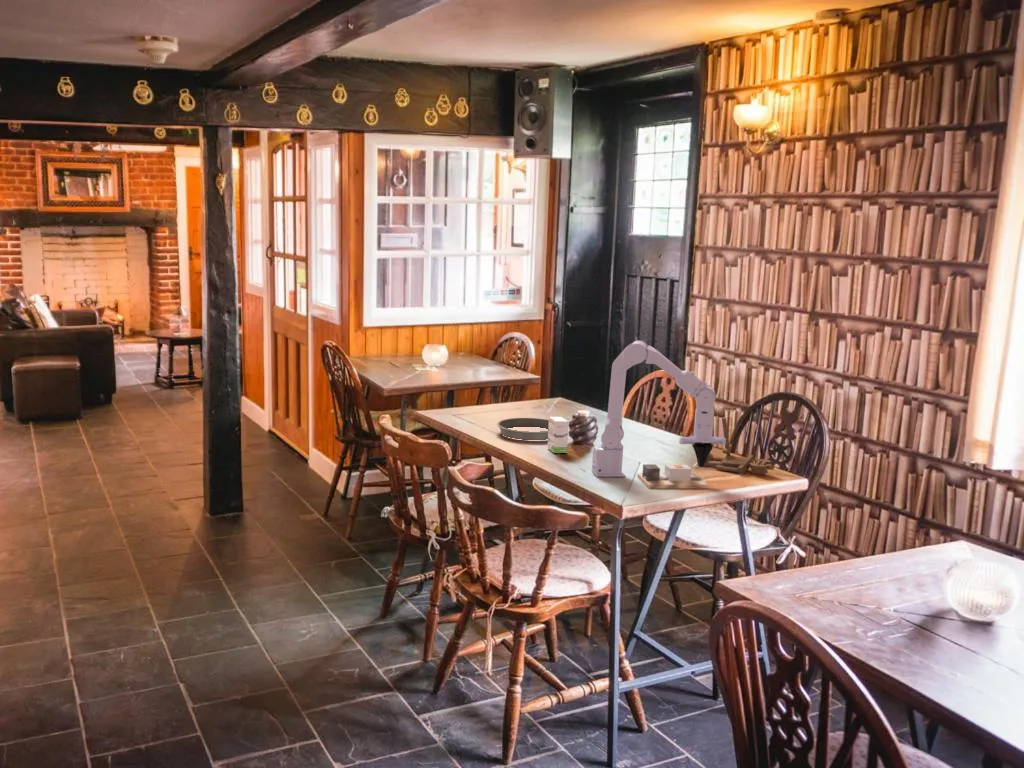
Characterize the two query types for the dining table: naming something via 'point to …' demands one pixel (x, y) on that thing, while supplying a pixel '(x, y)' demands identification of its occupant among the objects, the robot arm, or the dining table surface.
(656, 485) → the rail board
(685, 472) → the block
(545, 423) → the cake pan
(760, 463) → the wooden figure
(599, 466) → the robot arm
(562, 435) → the ink box
